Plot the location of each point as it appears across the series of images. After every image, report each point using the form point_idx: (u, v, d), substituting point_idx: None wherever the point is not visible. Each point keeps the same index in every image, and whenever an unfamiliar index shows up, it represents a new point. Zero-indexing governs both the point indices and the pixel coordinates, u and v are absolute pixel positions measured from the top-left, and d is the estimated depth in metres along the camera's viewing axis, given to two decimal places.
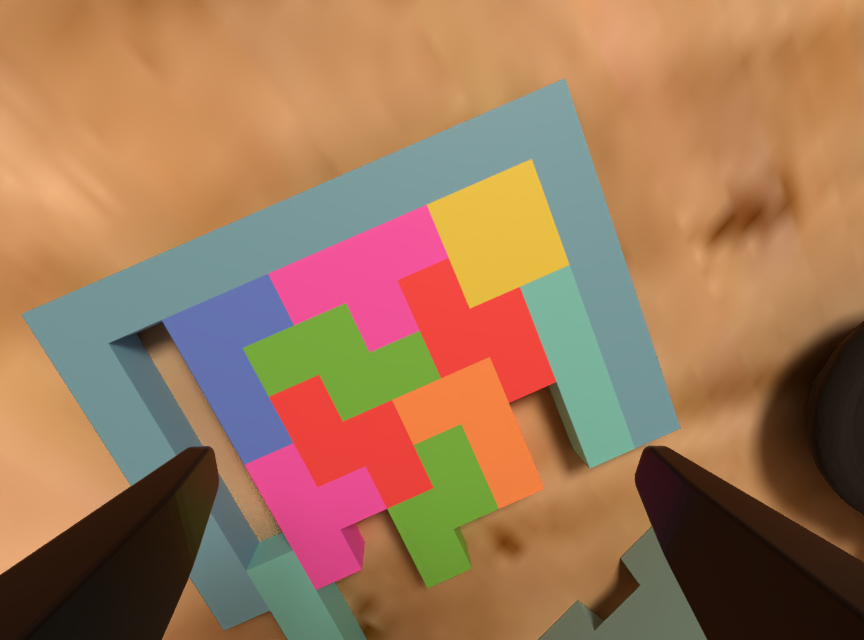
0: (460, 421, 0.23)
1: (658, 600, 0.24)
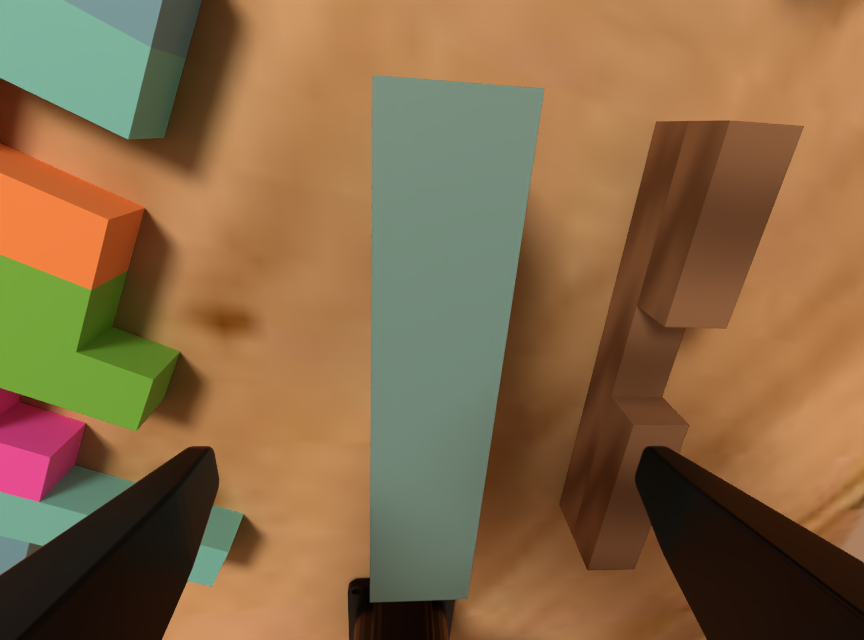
0: None
1: None
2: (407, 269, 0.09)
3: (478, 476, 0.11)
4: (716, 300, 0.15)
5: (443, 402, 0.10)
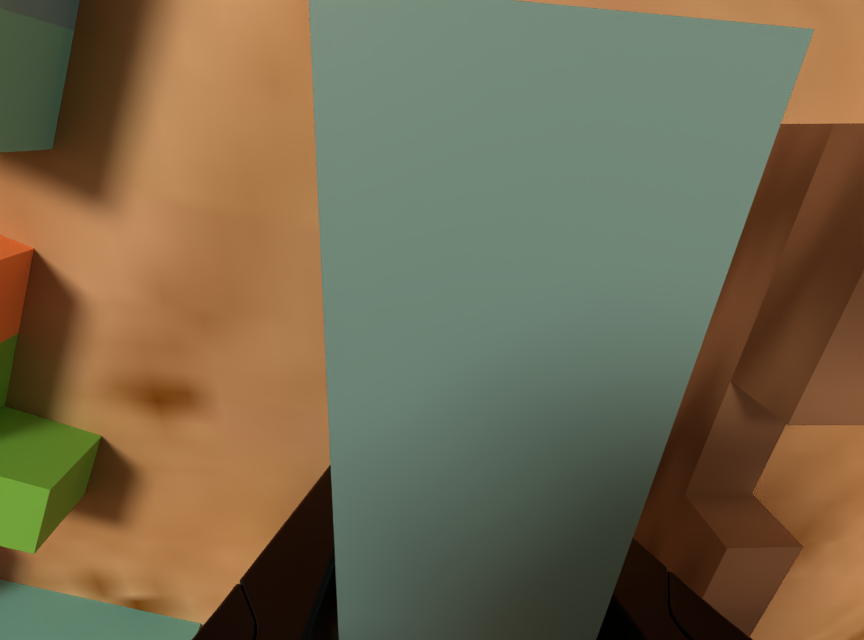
0: None
1: None
2: (415, 467, 0.04)
3: None
4: None
5: None
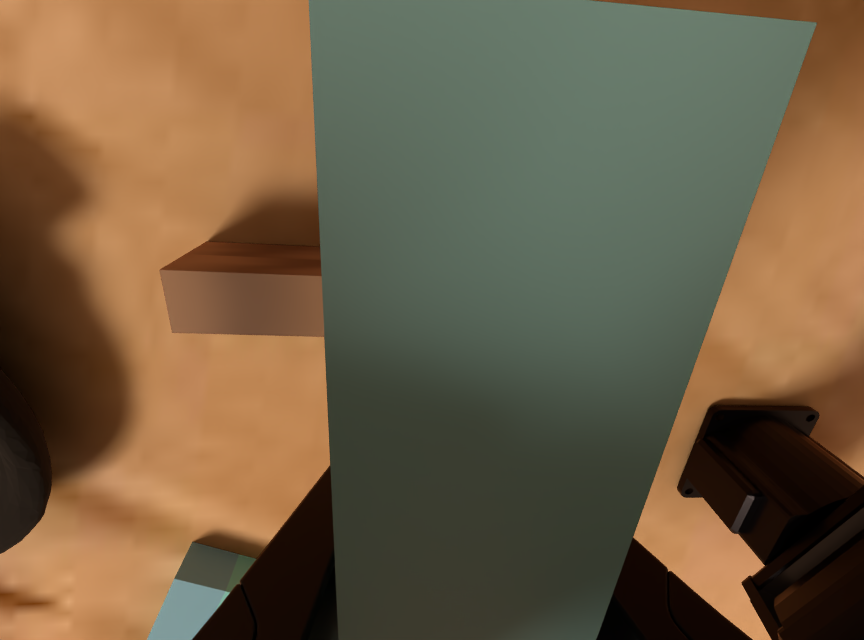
0: None
1: None
2: (413, 465, 0.04)
3: None
4: None
5: None
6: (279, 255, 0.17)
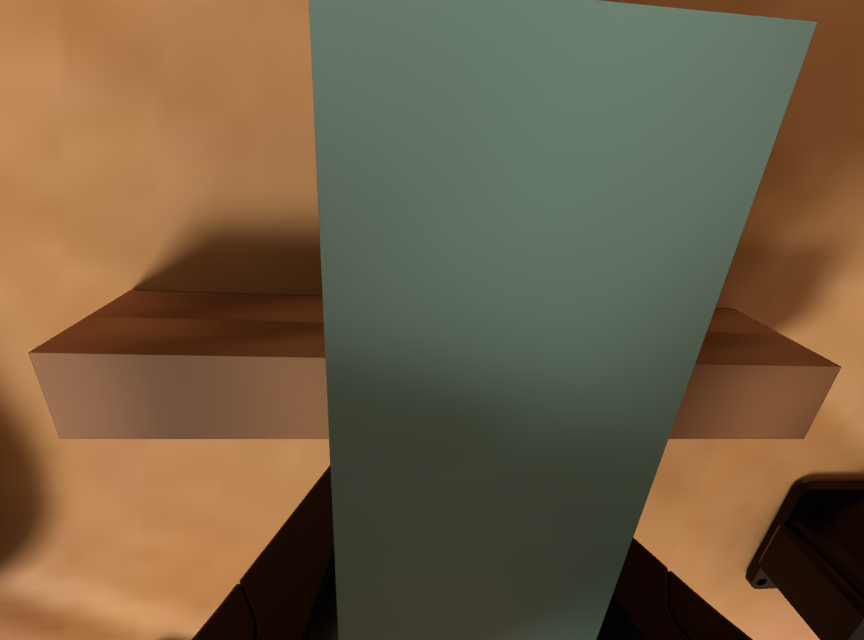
0: None
1: None
2: (413, 464, 0.04)
3: None
4: (293, 385, 0.10)
5: None
6: (226, 314, 0.12)
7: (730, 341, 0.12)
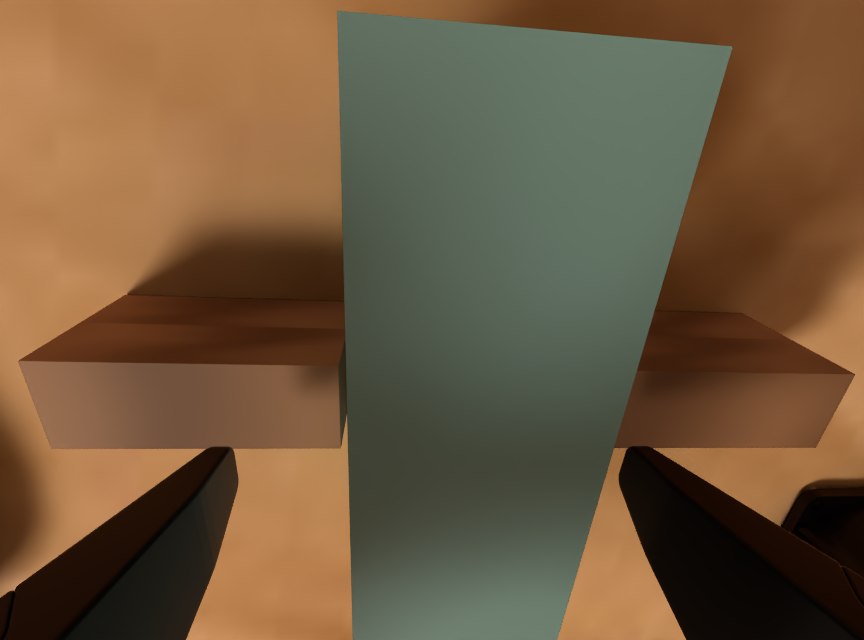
0: None
1: None
2: (417, 411, 0.04)
3: None
4: (292, 394, 0.10)
5: (477, 605, 0.06)
6: (223, 320, 0.12)
7: (740, 347, 0.12)
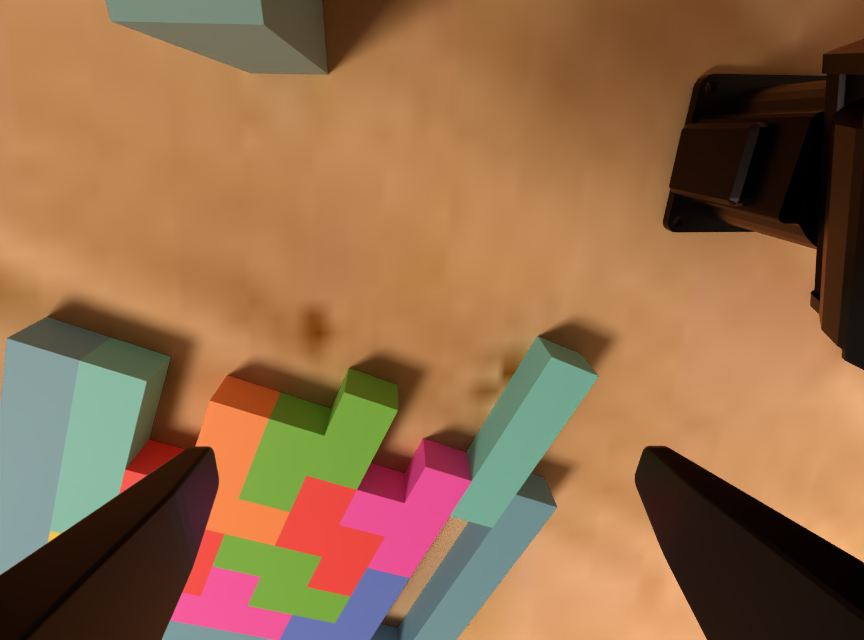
0: (237, 500, 0.23)
1: None
2: None
3: None
4: None
5: None
6: None
7: None
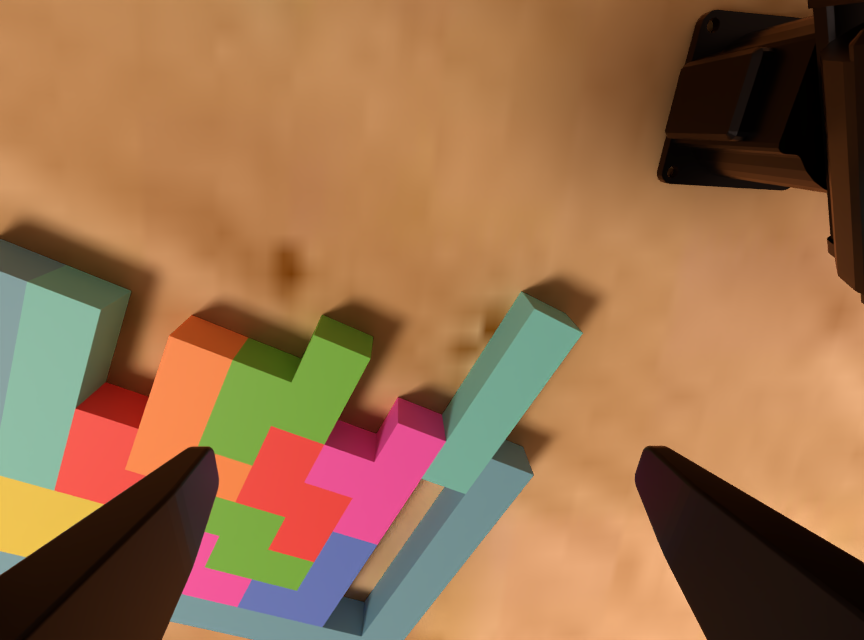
0: None
1: None
2: None
3: None
4: None
5: None
6: None
7: None
